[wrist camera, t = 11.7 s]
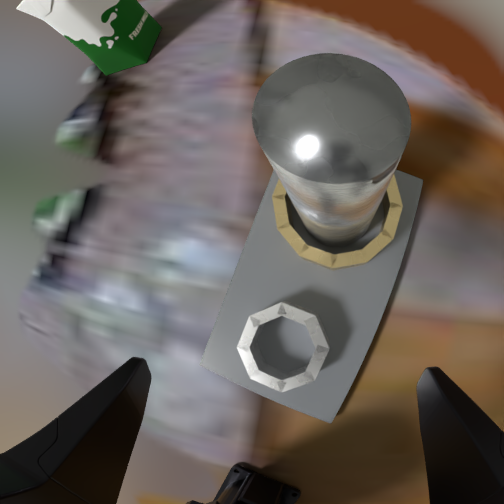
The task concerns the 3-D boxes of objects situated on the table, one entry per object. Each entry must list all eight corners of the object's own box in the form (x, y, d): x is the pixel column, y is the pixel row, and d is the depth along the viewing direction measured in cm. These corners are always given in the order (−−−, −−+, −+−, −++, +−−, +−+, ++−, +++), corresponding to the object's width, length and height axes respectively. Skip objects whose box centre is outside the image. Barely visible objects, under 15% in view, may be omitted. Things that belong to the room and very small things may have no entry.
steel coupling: (358, 257, 20) (391, 208, 7) (292, 232, 21) (228, 157, 9) (379, 191, 20) (419, 75, 7) (314, 170, 21) (281, 44, 9)
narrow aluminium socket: (307, 392, 20) (304, 401, 18) (237, 361, 21) (228, 368, 19) (339, 321, 20) (339, 325, 18) (265, 292, 21) (258, 292, 19)
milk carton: (150, 66, 29) (44, -37, 10) (98, 82, 32) (-2, 7, 13) (170, 21, 30) (89, -75, 11) (119, 38, 32) (38, -37, 13)
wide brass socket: (372, 285, 19) (377, 285, 17) (264, 245, 22) (255, 239, 19) (405, 178, 19) (412, 165, 17) (302, 145, 22) (297, 129, 19)
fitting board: (331, 418, 20) (331, 423, 19) (204, 362, 23) (199, 364, 22) (420, 184, 20) (423, 180, 19) (289, 142, 23) (286, 136, 22)
